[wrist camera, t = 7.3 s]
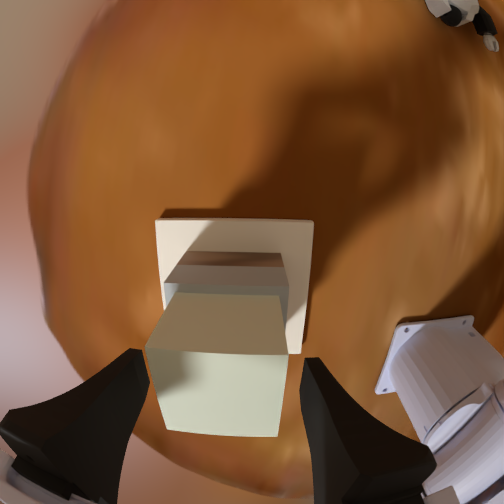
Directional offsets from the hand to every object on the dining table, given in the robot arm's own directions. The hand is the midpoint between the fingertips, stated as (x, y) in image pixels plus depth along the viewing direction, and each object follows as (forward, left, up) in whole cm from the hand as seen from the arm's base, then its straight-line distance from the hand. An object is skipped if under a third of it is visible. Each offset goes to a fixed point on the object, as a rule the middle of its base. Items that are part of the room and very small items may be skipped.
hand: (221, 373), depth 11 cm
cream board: (0, 0, -9) cm, 9 cm away
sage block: (0, 0, -3) cm, 3 cm away
